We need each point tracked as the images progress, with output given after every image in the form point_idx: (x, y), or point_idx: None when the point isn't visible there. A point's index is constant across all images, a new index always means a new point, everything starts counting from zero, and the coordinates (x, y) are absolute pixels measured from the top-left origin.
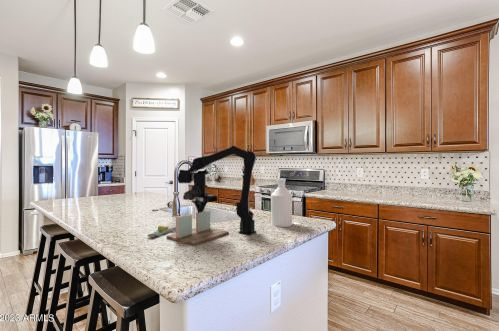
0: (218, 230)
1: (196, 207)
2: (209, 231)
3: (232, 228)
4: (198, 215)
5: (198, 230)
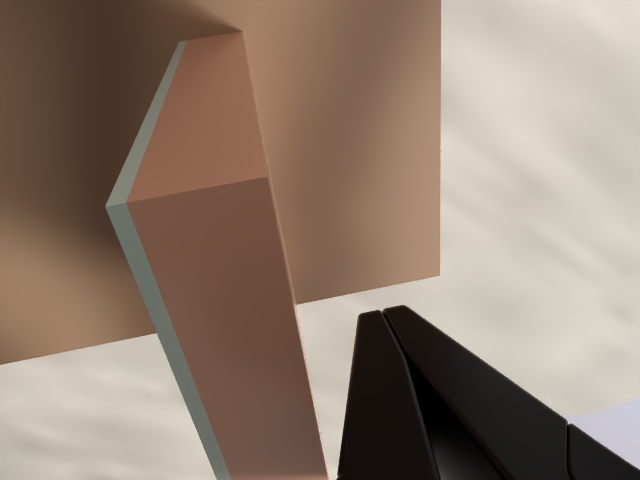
0: (57, 315)
1: (589, 453)
2: (83, 196)
3: (161, 474)
4: (128, 168)
5: (178, 49)
